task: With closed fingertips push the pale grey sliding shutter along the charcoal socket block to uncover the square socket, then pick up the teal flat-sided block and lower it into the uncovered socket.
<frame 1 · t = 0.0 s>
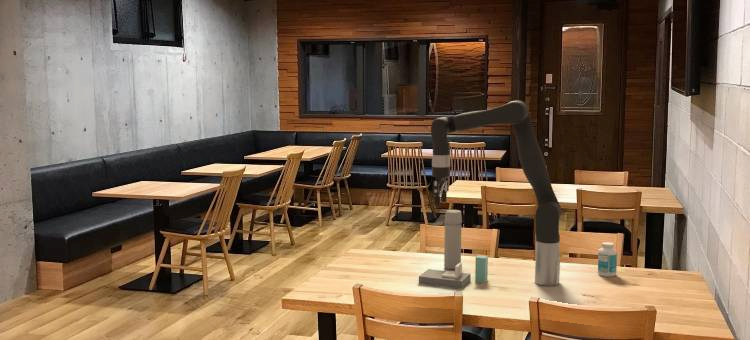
hand: (440, 203, 313), 29 cm above the table, fingers open, 8 cm apart
teal flat-sided block: (481, 280, 303), on the table
pill bottle: (606, 275, 311), on the table
water bottle: (452, 267, 323), on the table
shutter: (452, 269, 299), point 5 cm above the table, slide at 0.0 cm
socket block: (444, 282, 300), on the table
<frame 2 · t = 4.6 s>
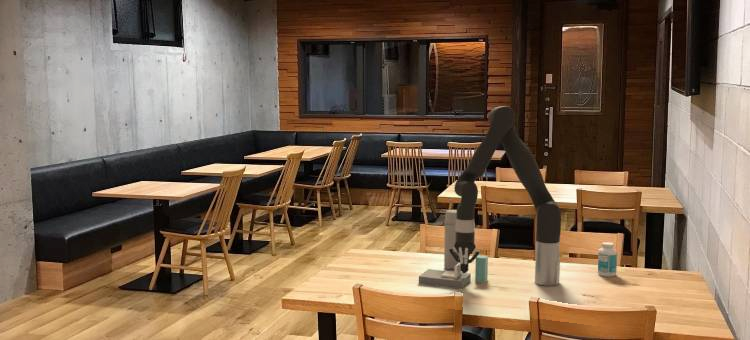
hand: (464, 272, 296), 5 cm above the table, fingers closed
shutter: (451, 269, 299), point 5 cm above the table, slide at 0.3 cm, touching gripper
everything else where it was.
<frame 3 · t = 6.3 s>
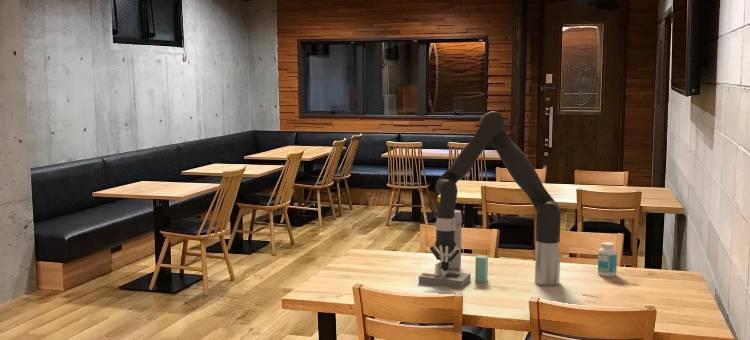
hand: (445, 270, 300), 5 cm above the table, fingers closed
shutter: (432, 267, 302), point 5 cm above the table, slide at 8.3 cm, touching gripper
everything else where it was.
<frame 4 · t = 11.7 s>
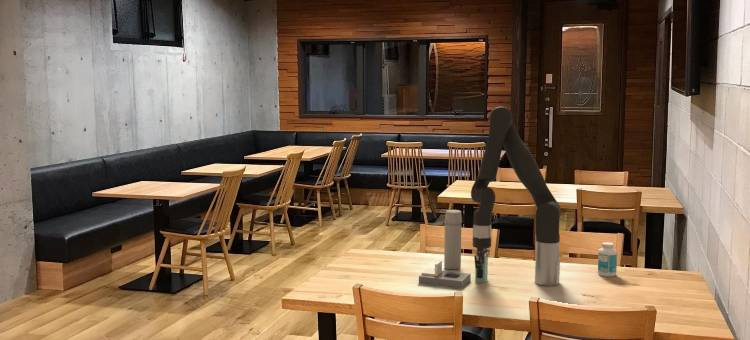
hand: (481, 276, 302), 2 cm above the table, fingers closed on teal flat-sided block, 4 cm apart
teal flat-sided block: (481, 280, 303), on the table, touching gripper
shutter: (432, 267, 302), point 5 cm above the table, slide at 8.5 cm
everything else where it was.
when the fingers open (4 cm above the table, at t = 17.9 s): teal flat-sided block drops 2 cm, resting in socket block.
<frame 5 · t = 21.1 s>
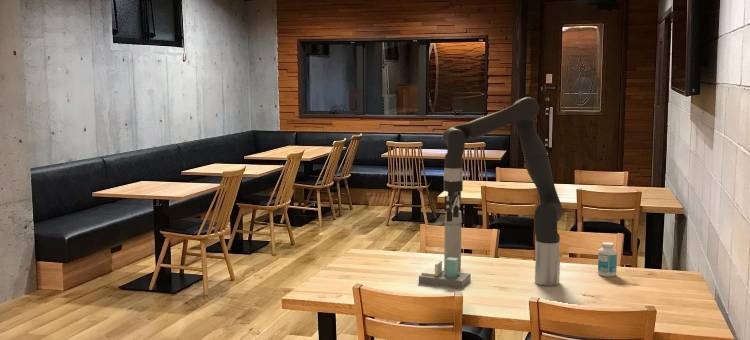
hand: (452, 219, 296), 26 cm above the table, fingers open, 8 cm apart
teal flat-sided block: (451, 282, 300), resting in socket block
everything else where it was.
at the end: teal flat-sided block 0.2 cm from the target spot on the socket block, point 0.0 cm above the socket block's base; shutter slide at 8.5 cm; the gripper is holding nothing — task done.
